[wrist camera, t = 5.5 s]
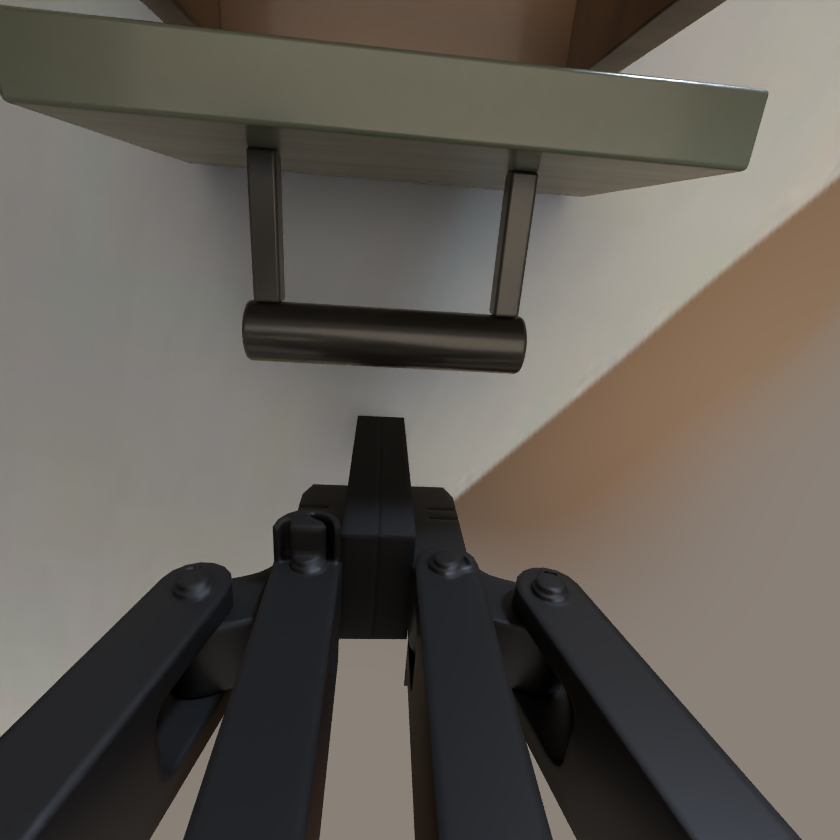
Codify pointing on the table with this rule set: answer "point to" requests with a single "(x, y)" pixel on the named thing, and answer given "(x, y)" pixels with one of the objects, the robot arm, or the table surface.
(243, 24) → the drawer
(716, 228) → the table surface
